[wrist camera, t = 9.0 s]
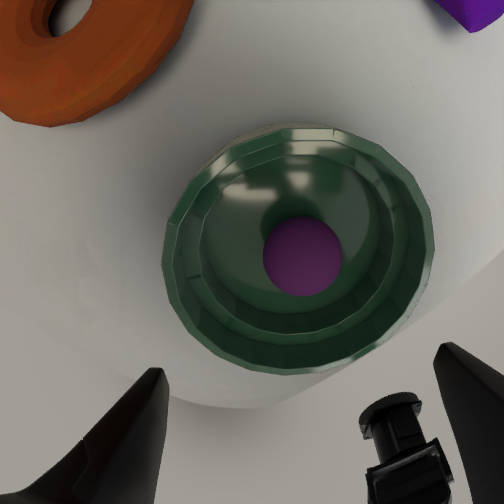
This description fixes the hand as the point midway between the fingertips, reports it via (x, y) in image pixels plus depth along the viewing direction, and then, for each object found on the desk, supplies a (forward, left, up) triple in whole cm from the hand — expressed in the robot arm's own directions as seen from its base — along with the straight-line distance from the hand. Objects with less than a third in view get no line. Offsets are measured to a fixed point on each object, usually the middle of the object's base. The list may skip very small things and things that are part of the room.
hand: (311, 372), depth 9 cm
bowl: (-1, -1, -12) cm, 12 cm away
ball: (-1, -1, -9) cm, 9 cm away
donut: (+15, +11, -12) cm, 22 cm away
